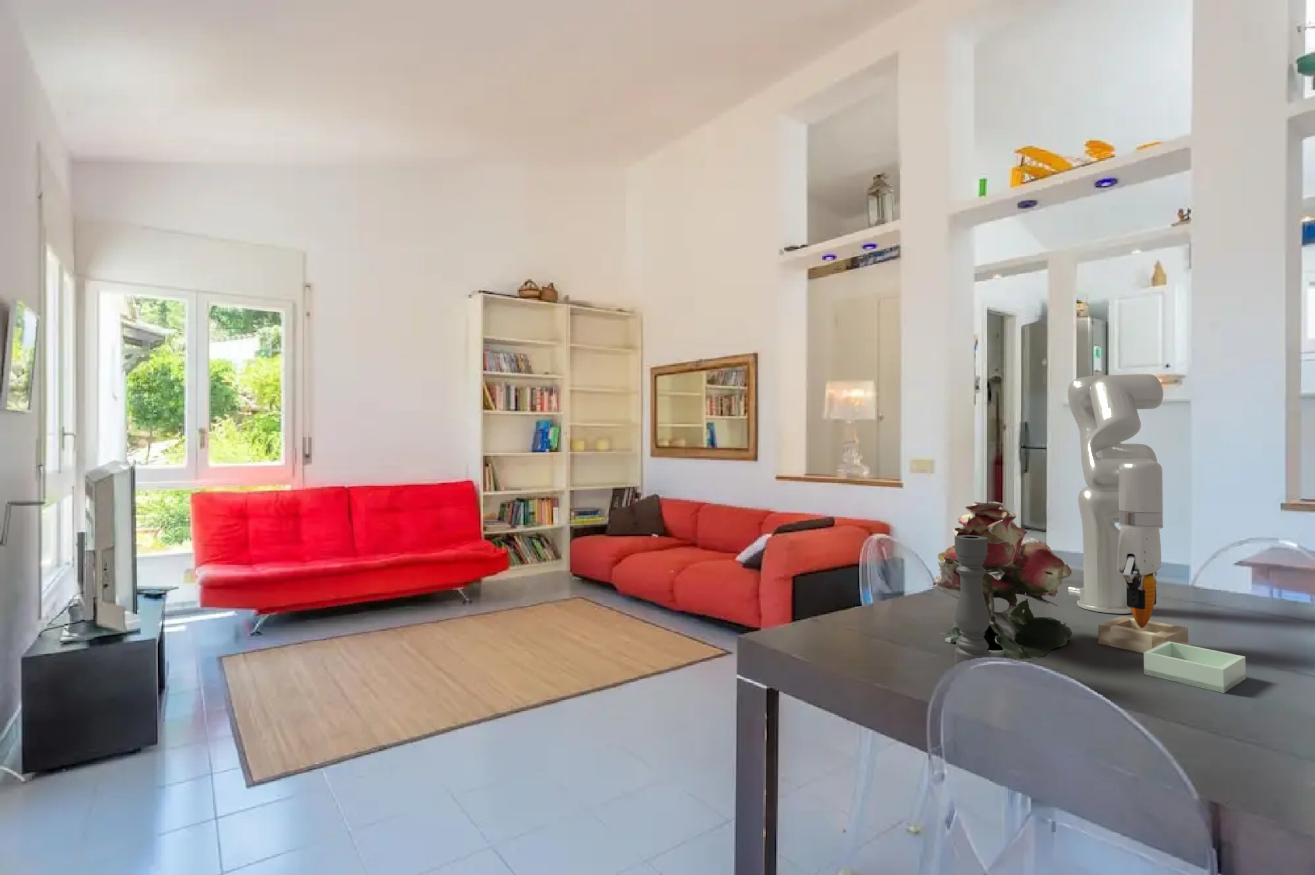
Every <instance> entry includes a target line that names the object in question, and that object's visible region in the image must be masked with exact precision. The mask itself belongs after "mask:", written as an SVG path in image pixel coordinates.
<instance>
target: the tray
mask: <svg viewBox="0 0 1315 875" xmlns="http://www.w3.org/2000/svg"><path fill="white" fill-rule="evenodd" d="M1246 671H1247V670H1246V656H1244V655H1240V654H1239V655H1238V654H1234V653H1230V652H1225V651H1219V650H1215V649H1208V648H1203V647H1199V646H1193V645H1190V644H1188V645H1184V644H1179V643H1174V642H1169V641H1168V642H1166V643H1163V644H1161V645H1159V646H1157V647H1155V648H1152V649H1150V650H1148V651H1146V652H1144V653H1143V675H1146V676H1151V677H1155V678H1159V679H1163V680H1166V681H1167V680H1168V681H1170V682H1175V683H1180V684H1184V685H1188V686H1192V687H1196V688H1200V689H1205V690H1209V691H1212V692H1218V693H1222V694H1224V693H1226V692H1228V691H1229V690H1231V689H1233V688H1234V687H1235V686H1237V685H1239V684H1240V683H1241V682H1243V681H1244V680H1245V681H1246V679H1247V676H1246Z"/></svg>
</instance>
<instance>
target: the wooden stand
mask: <svg viewBox="0 0 1315 875" xmlns="http://www.w3.org/2000/svg"><path fill="white" fill-rule="evenodd" d="M1097 631H1098V636H1097V638H1098V639H1097V640H1098V644H1100V645H1103V646H1104V645H1105V646H1108V647H1109V646H1110V647H1114V648H1118V649H1123V650H1128V651H1132V652H1136V653H1140V654H1144V652H1146V651H1148V650H1150V649H1152V648H1155V647H1157V646H1159V645H1161V644H1163V643H1166V642H1168V641H1169V642H1174V643H1179V644H1184V645H1189V627H1186V626H1181V625H1175V624H1170V623H1166V622H1165V623H1163V622H1159V621H1155V620H1154V621H1153V620H1149V621H1148V623H1147V624H1146V626H1145V627H1143V628H1140V627H1139V626H1138V624H1137V622H1136V621H1135V619H1134V617H1133V616H1132V617H1131V616H1125V615H1121V616H1118V617H1115V618H1112V619H1110V620H1107V621H1104V622H1101V623H1099V624H1097Z"/></svg>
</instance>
